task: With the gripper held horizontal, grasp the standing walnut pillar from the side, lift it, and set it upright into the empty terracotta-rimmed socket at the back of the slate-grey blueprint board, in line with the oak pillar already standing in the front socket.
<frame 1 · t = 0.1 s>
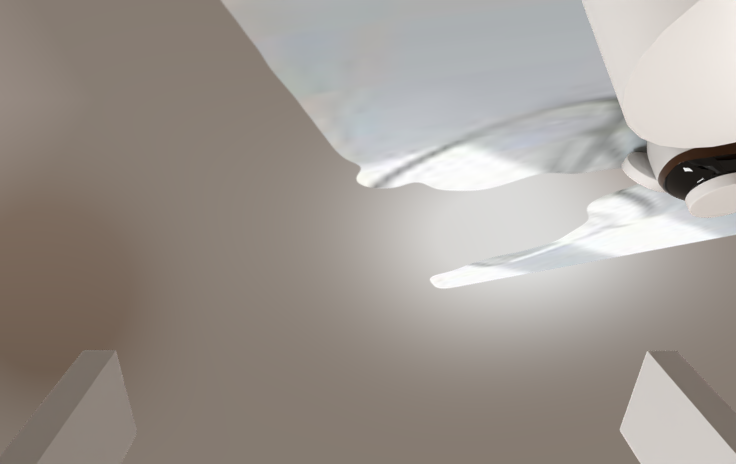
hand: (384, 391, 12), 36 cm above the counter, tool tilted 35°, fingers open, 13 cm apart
spread jar: (674, 128, 57), on the counter
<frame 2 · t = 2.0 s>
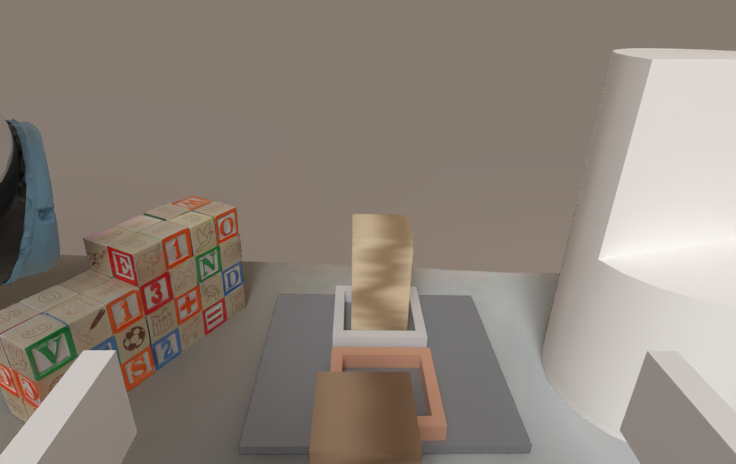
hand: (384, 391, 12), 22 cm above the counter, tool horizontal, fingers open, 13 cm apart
stack of blocks: (148, 353, 45), on the counter
oak pillar: (377, 321, 49), point 1 cm above the counter, touching blueprint board
cylinder: (638, 380, 44), on the counter
blueprint board: (379, 361, 45), on the counter
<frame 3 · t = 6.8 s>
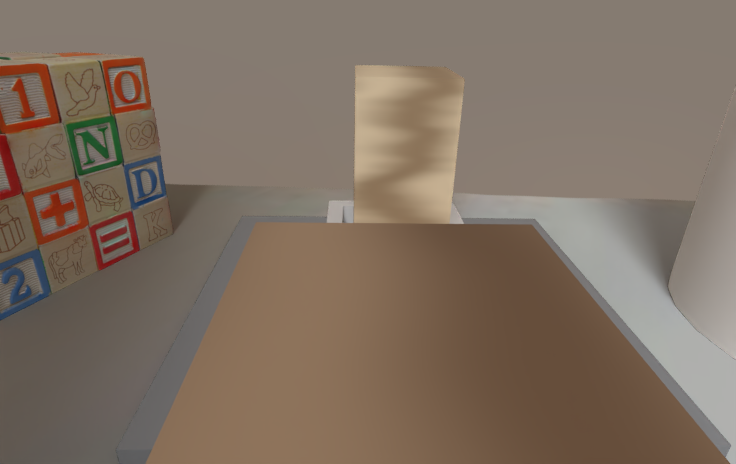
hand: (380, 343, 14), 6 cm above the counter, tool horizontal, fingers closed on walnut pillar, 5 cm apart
oak pillar: (395, 247, 31), point 1 cm above the counter, touching blueprint board
blueprint board: (402, 303, 26), on the counter
when the fingers open (8 cm above the counter, at t = 12.4 s): walnut pillar stays where it is, resting on blueprint board.
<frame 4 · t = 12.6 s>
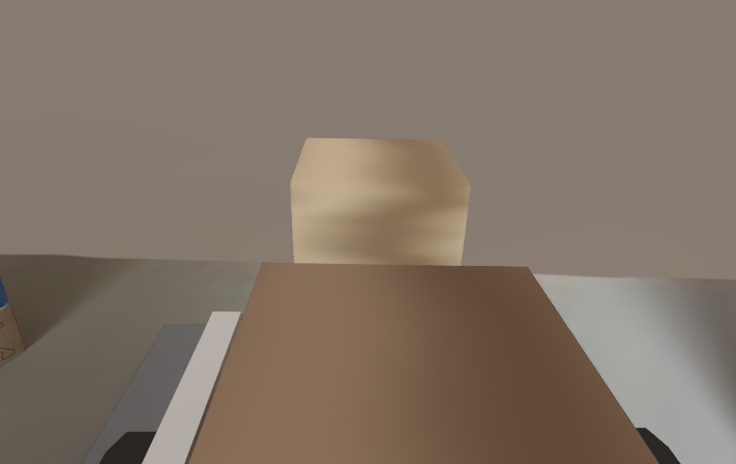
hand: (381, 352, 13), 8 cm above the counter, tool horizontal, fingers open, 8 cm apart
oak pillar: (369, 391, 21), point 1 cm above the counter, touching blueprint board
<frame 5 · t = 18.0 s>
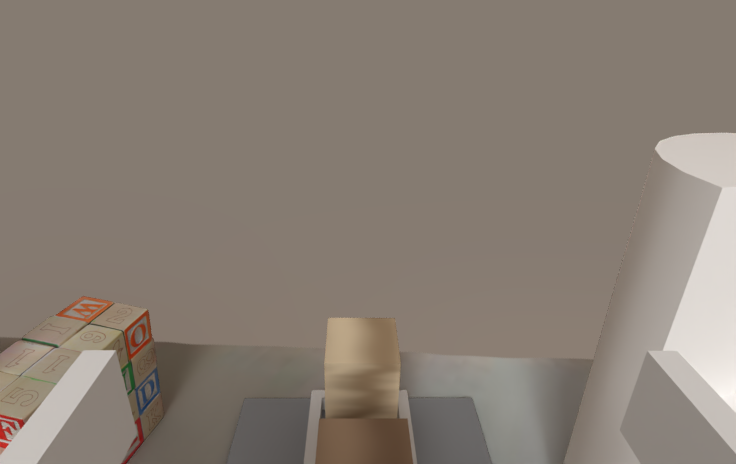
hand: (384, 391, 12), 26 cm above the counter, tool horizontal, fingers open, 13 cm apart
oak pillar: (359, 440, 41), point 1 cm above the counter, touching blueprint board
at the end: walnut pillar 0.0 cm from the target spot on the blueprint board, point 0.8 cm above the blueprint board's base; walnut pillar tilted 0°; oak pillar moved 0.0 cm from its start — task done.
